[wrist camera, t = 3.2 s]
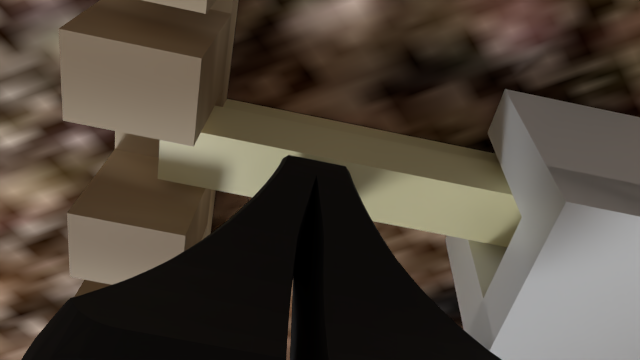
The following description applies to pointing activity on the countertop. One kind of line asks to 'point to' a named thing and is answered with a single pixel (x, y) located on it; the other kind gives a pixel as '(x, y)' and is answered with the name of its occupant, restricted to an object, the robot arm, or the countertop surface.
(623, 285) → the sleeve
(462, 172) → the pale yellow bar
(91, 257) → the comb
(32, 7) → the countertop surface
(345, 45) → the countertop surface
